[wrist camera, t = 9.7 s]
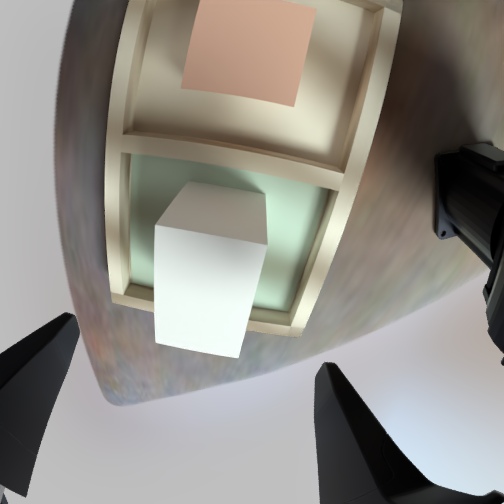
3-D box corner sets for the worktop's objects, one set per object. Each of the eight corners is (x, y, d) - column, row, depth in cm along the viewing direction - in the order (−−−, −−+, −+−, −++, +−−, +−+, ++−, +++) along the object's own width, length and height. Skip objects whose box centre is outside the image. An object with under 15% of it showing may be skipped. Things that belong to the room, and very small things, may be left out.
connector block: (265, 194, 17) (267, 245, 11) (243, 290, 20) (238, 358, 15) (188, 180, 16) (155, 224, 11) (179, 278, 20) (155, 342, 15)
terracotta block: (284, 104, 14) (293, 107, 10) (202, 90, 14) (180, 88, 10) (301, 31, 12) (316, 8, 8) (218, 16, 12) (202, -10, 8)
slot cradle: (297, 314, 23) (299, 337, 21) (124, 282, 22) (112, 302, 19) (386, 10, 11) (403, 1, 9) (157, -30, 10) (143, -44, 8)
